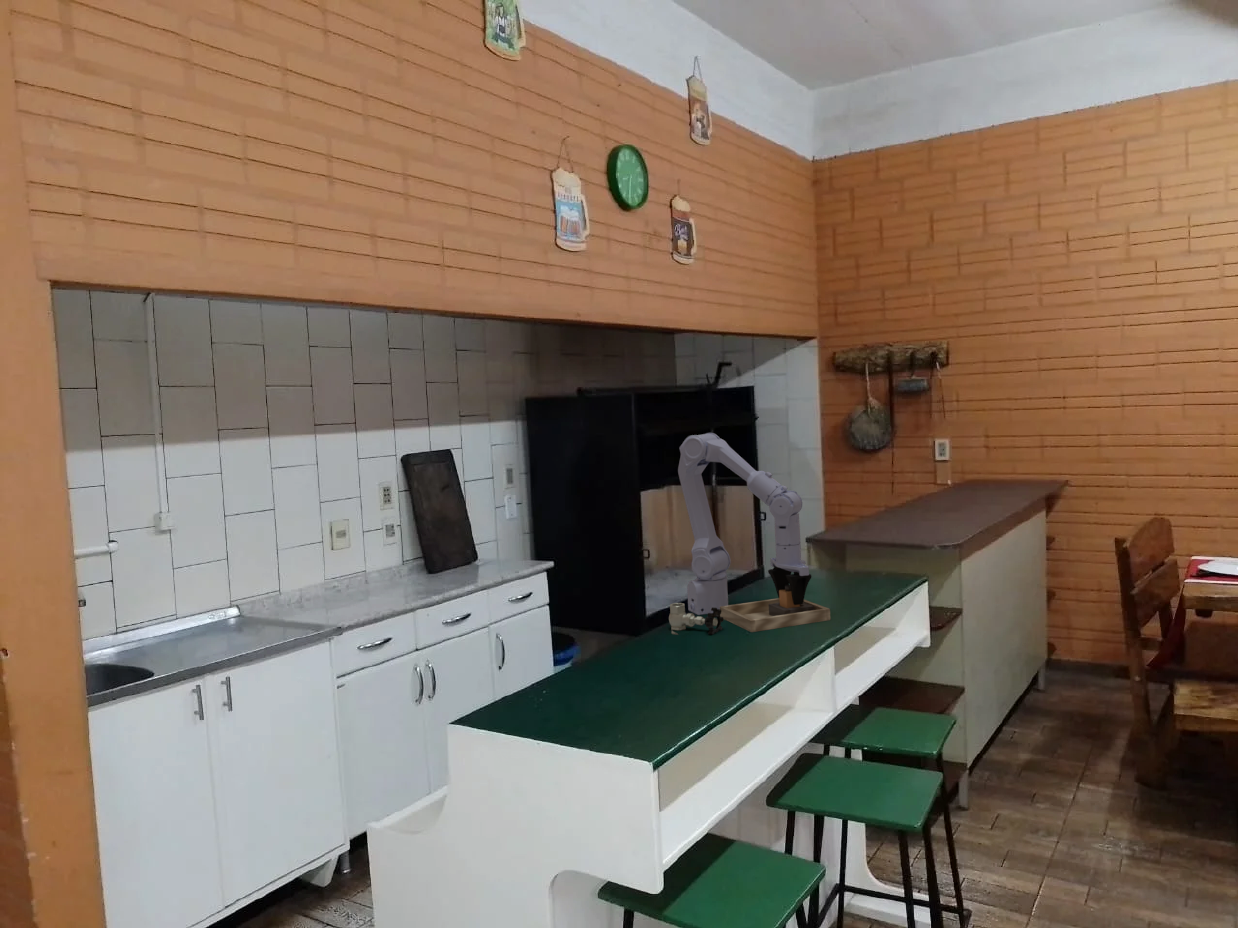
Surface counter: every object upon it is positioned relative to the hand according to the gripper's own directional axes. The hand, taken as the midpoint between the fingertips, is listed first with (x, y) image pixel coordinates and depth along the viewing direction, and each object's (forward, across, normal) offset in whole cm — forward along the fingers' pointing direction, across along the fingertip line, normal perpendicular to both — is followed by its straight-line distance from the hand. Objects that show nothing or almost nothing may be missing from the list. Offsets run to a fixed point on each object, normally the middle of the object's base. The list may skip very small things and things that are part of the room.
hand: (790, 601), depth 216 cm
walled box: (+4, 0, +4) cm, 6 cm away
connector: (+3, 0, 0) cm, 3 cm away
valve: (+5, +1, +24) cm, 25 cm away
